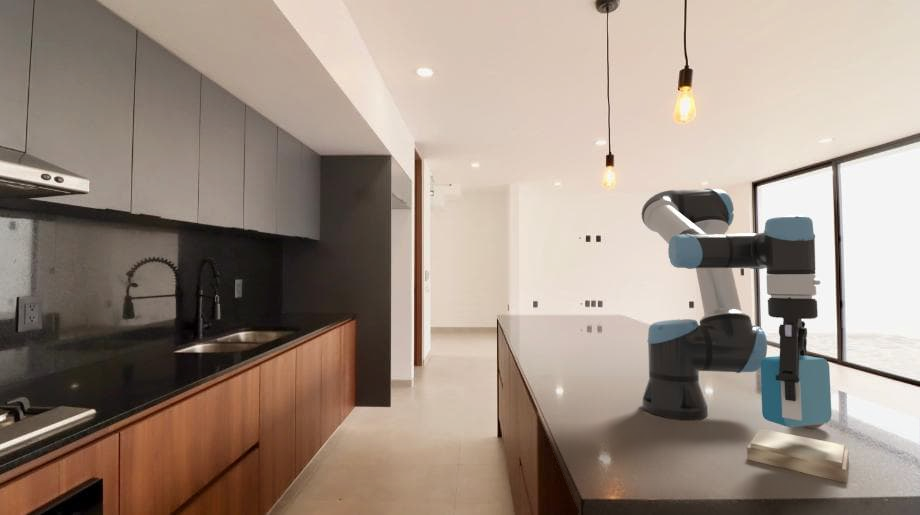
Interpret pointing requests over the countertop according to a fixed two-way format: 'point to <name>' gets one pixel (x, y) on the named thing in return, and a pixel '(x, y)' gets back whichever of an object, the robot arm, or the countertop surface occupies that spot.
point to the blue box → (811, 385)
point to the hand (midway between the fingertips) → (796, 410)
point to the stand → (800, 454)
